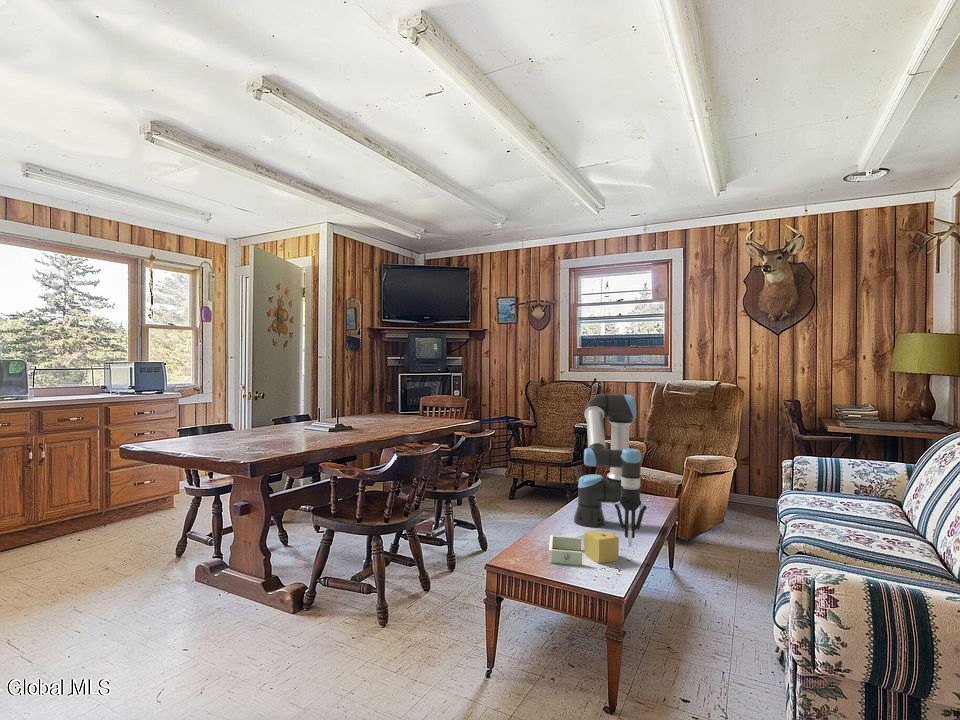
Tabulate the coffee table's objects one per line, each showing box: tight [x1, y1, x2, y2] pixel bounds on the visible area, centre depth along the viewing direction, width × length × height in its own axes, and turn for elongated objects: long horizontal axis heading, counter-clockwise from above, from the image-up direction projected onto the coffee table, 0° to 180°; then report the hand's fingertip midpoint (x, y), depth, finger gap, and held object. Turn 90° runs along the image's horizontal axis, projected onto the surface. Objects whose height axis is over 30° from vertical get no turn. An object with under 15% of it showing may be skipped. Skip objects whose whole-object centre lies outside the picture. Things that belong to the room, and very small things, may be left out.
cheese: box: [583, 530, 620, 564], centre depth 210 cm, size 10×11×10 cm
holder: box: [548, 534, 583, 566], centre depth 212 cm, size 19×13×5 cm
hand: (629, 545), depth 208 cm, fingers closed
